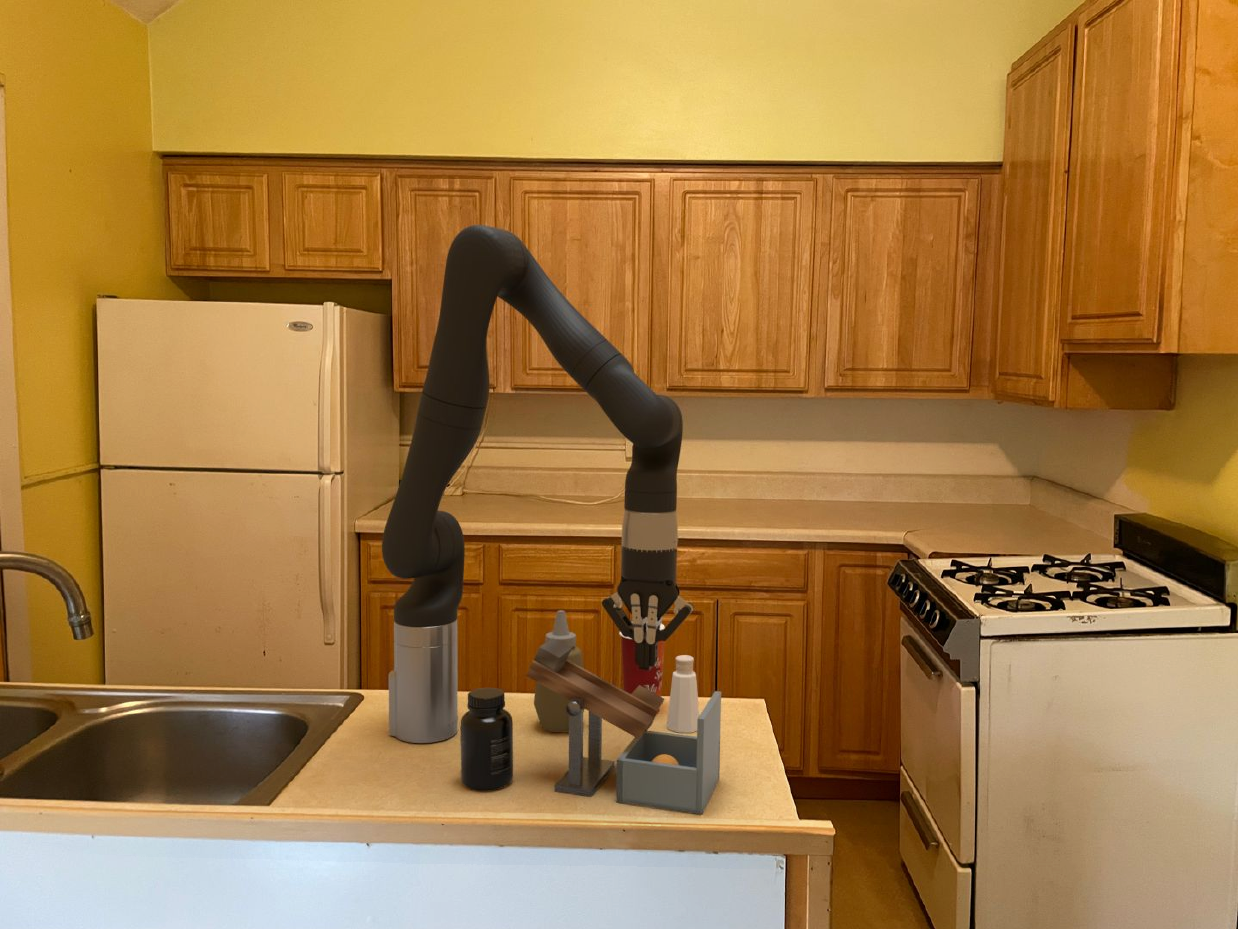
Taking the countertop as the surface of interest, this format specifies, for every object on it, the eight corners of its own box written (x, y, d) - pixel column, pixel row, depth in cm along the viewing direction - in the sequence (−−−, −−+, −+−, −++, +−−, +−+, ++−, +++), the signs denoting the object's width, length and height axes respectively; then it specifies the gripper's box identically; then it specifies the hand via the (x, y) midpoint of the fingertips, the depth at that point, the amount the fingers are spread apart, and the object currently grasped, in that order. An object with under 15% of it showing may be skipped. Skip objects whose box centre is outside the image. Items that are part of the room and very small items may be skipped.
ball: (680, 788, 120) (651, 794, 121) (687, 775, 124) (659, 782, 125) (669, 758, 120) (641, 765, 121) (677, 746, 124) (649, 753, 125)
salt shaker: (660, 730, 144) (661, 659, 143) (672, 719, 149) (673, 650, 148) (694, 735, 142) (696, 664, 141) (705, 724, 147) (707, 654, 146)
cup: (616, 802, 119) (617, 709, 118) (640, 768, 129) (641, 683, 128) (701, 815, 116) (703, 719, 115) (719, 779, 126) (721, 691, 125)
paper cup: (661, 721, 148) (663, 633, 147) (613, 717, 149) (615, 630, 148) (669, 704, 156) (670, 621, 154) (623, 701, 157) (624, 618, 156)
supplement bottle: (511, 769, 128) (511, 683, 127) (514, 791, 122) (515, 700, 121) (460, 772, 127) (460, 685, 126) (460, 794, 121) (460, 702, 120)
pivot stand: (553, 792, 122) (554, 700, 121) (580, 761, 131) (581, 676, 130) (590, 797, 120) (591, 704, 119) (614, 766, 130) (616, 680, 129)
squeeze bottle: (522, 727, 145) (523, 611, 143) (559, 713, 151) (560, 602, 149) (560, 740, 139) (561, 620, 138) (597, 726, 145) (598, 611, 144)
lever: (525, 675, 124) (537, 648, 123) (559, 650, 136) (570, 625, 135) (639, 739, 120) (652, 711, 119) (664, 708, 132) (676, 682, 131)
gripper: (593, 543, 126) (591, 671, 127) (691, 551, 122) (687, 682, 123) (610, 535, 133) (608, 656, 134) (703, 542, 129) (699, 666, 131)
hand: (646, 668), depth 129 cm, fingers closed
